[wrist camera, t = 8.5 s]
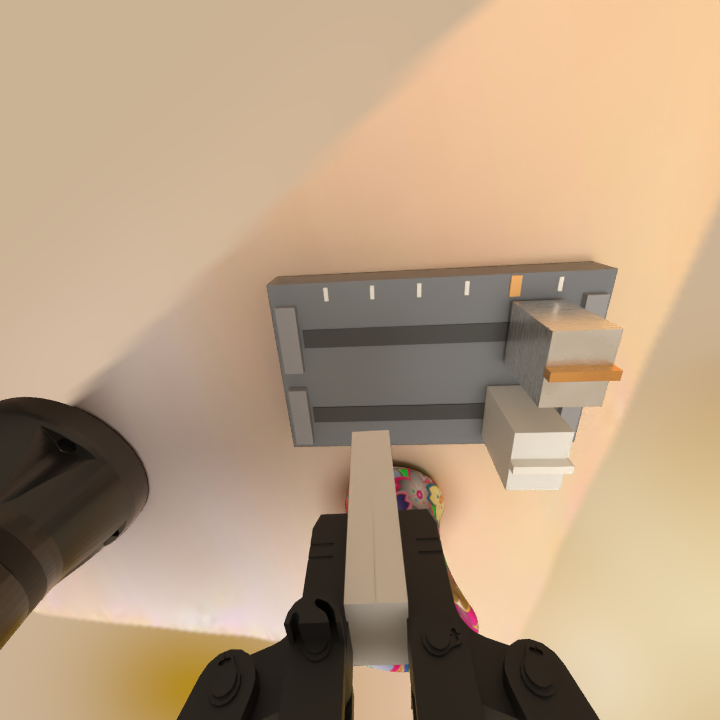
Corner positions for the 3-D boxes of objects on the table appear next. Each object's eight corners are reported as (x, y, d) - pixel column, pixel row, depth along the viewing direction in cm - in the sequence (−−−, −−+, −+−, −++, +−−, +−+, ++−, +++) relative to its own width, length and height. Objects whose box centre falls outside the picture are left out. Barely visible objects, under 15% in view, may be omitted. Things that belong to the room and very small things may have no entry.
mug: (321, 482, 30) (295, 614, 21) (414, 439, 28) (435, 566, 18) (389, 561, 34) (395, 702, 25) (476, 529, 32) (520, 672, 22)
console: (300, 426, 28) (272, 510, 20) (277, 276, 23) (228, 314, 15) (556, 421, 26) (628, 508, 19) (592, 261, 21) (708, 294, 14)
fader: (503, 364, 21) (542, 414, 16) (511, 301, 20) (558, 336, 15) (554, 362, 21) (610, 413, 16) (567, 298, 20) (634, 333, 15)
